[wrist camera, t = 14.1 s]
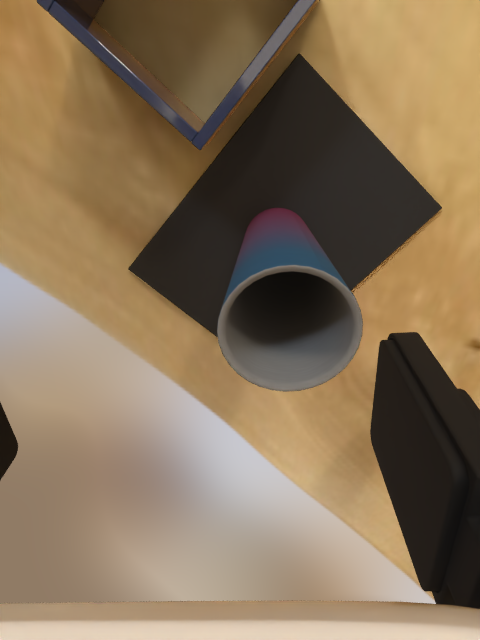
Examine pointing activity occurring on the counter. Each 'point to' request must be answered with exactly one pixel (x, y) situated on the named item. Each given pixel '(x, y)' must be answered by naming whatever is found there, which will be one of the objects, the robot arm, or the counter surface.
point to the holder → (78, 18)
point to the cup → (287, 308)
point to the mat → (287, 196)
